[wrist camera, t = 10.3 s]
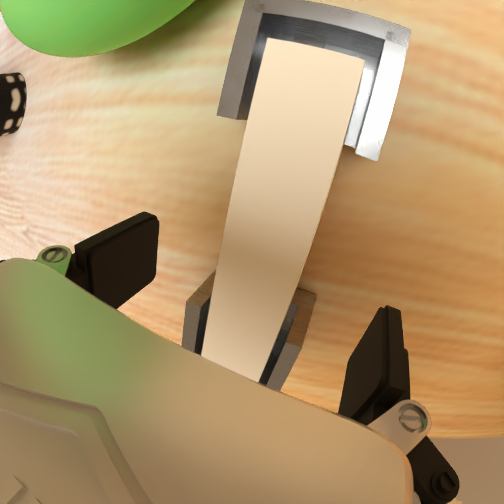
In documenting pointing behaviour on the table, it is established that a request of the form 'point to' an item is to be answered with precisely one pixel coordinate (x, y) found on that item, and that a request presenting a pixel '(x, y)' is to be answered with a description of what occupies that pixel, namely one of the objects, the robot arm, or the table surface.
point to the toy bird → (86, 23)
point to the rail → (278, 197)
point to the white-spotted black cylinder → (11, 102)
